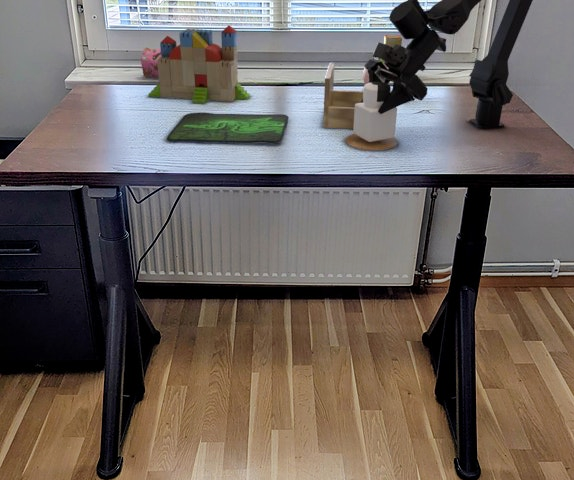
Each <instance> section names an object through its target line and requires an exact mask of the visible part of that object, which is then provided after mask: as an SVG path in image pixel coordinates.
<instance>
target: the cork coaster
mask: <svg viewBox="0 0 574 480" xmlns="http://www.w3.org/2000/svg"><path fill="white" fill-rule="evenodd" d="M345 143H346V144H347V145H348V146H349V147H351V148H354V149H357V150H361V151H362V150H363V151H373V152H374V151H375V152H376V151H379V152H380V151H386V150H392V149H393V148H394V149H395V147H397V145H398V140H397V139H396V137H394V138H390V139H384V140H378V141H373V142H368V141H366V140H365V139H363V138H361V137H359V136H357V135H355V134H354V133H353V134H350V135H348V136H347V137H346V138H345Z"/></svg>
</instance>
